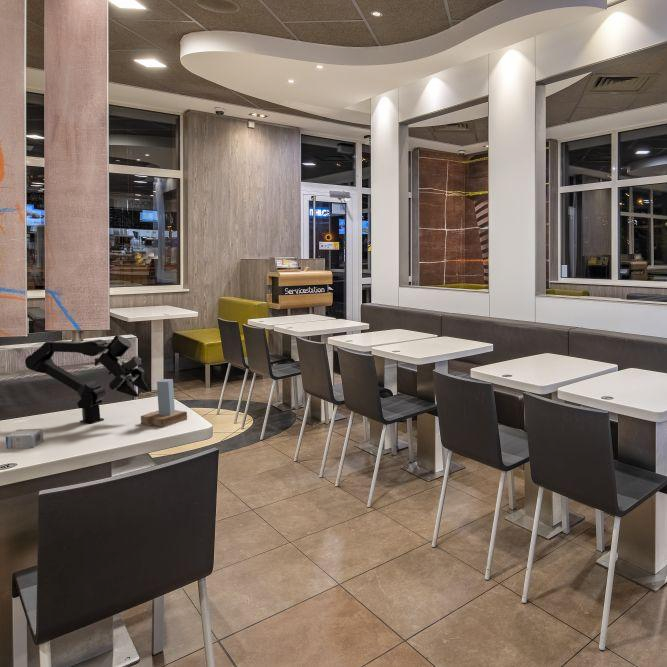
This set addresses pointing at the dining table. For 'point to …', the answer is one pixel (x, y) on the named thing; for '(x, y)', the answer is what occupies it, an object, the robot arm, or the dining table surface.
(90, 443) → the dining table surface
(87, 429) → the dining table surface
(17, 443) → the medicine box
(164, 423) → the walnut plinth
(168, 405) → the pillar block
